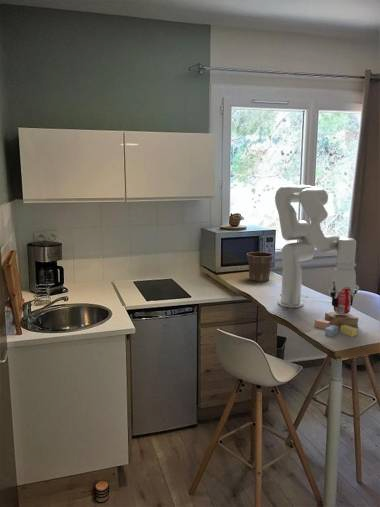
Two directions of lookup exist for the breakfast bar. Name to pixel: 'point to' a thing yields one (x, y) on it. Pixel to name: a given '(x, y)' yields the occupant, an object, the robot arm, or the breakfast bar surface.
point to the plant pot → (259, 265)
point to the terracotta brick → (322, 323)
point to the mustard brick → (348, 330)
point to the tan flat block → (341, 319)
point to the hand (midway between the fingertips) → (342, 305)
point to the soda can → (343, 301)
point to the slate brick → (331, 330)
